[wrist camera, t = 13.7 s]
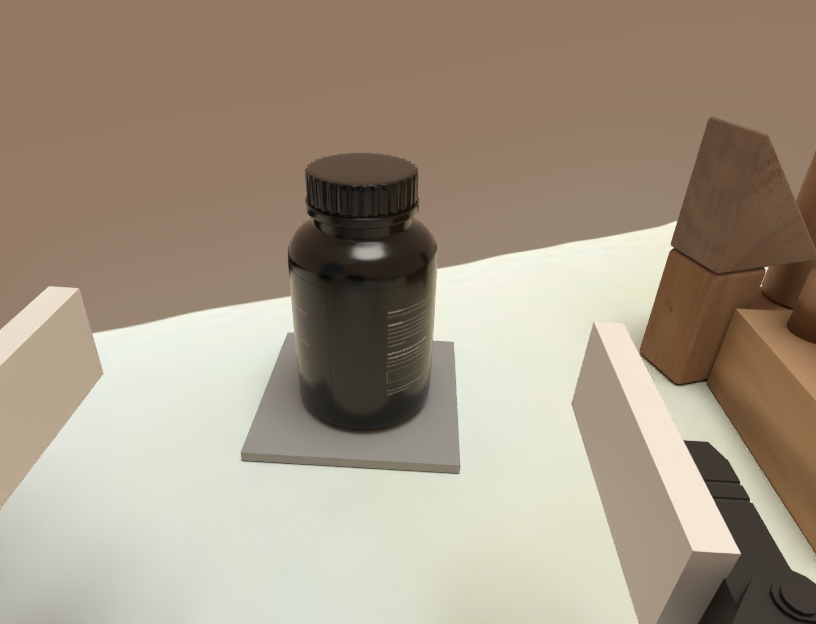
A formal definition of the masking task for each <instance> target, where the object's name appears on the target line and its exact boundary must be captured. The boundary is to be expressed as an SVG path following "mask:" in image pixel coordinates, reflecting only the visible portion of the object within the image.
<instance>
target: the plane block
mask: <svg viewBox="0 0 816 624" xmlns="http://www.w3.org/2000/svg"><path fill="white" fill-rule="evenodd" d="M707 385H708V386H709V388H710V389H711V391H712V393H713V394H714V396H715V397H716V399H717V400H718V402H719V403H720V405H721V406H722V408H723V410H724V411H725V413H726V414H727V416H728V417H729V419H730V420H731V422H732V424H733V425H734V427H735V428H736V430H737V431H738V433H739V434H740V436H741V437H742V439H743V441H744V442H745V444H746V445H747V447H748V448H749V450H750V451H751V453H752V455H753V456H754V458H755V459H756V461H757V462H758V464H759V465H760V467H761V468H762V470H763V472H764V473H765V475H766V476H767V478H768V479H769V481H770V482H771V484H772V486H773V487H774V489H775V490H776V492H777V493H778V495H779V496H780V498H781V499H782V501H783V503H784V504H785V506H786V507H787V509H788V510H789V512H790V513H791V515H792V517H793V518H794V520H795V521H796V523H797V524H798V526H799V527H800V529H801V530H802V532H803V534H804V535H805V537H806V538H807V540H808V541H809V543H810V544H811V546H812V548H813V549H814V551H815V552H816V268H815V269H812V270H811V271H810V274H809V276H808V278H807V280H806V282H805V285H804V287H803V289H802V291H801V294H800V296H799V298H798V300H797V302H796V305H795V307H794V309H793V311H792V312H790V311H772V310H754V309H735V311H734V314H733V317H732V319H731V322H730V324H729V327H728V329H727V332H726V335H725V337H724V340H723V342H722V345H721V347H720V350H719V353H718V355H717V358H716V360H715V363H714V365H713V368H712V370H711V373H710V376H709V378H708V381H707Z"/></svg>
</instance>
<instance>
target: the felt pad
mask: <svg viewBox="0 0 816 624" xmlns="http://www.w3.org/2000/svg"><path fill="white" fill-rule="evenodd" d="M241 457H242V460H243V461H260V462H277V463H294V464H311V465H327V466H344V467H361V468H378V469H395V470H412V471H429V472H445V473H459V470H460V454H459V435H458V416H457V397H456V378H455V358H454V342H444V341H433V348H432V366H431V379H430V388H429V393H428V396H427V398H426V400H425V402H424V403H423V405H422V406H421V407H420V408H419V409H418V411H416V412H415V413H414V414H413V415H412V416H410V417H409V418H407V419H406V420H404V421H402V422H400V423H397V424H395V425H392V426H389V427H385V428H381V429H374V430H352V429H346V428H341V427H338V426H335V425H332V424H330V423H327V422H325V421H323V420H322V419H320V418H319V417H317V416H316V415H315V414H314V413H312V412H311V411H310V409H309V408H308V407H307V406H306V404H305V403H304V401H303V399H302V396H301V392H300V386H299V377H298V368H297V357H296V345H295V334H294V333H287V336H286V339H285V341H284V344H283V346H282V349H281V351H280V354H279V356H278V359H277V362H276V364H275V367H274V369H273V372H272V374H271V377H270V379H269V382H268V385H267V387H266V390H265V392H264V395H263V397H262V400H261V402H260V405H259V407H258V410H257V413H256V415H255V418H254V420H253V423H252V425H251V428H250V430H249V433H248V436H247V438H246V441H245V443H244V446H243V448H242V451H241Z"/></svg>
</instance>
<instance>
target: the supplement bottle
mask: <svg viewBox="0 0 816 624" xmlns="http://www.w3.org/2000/svg"><path fill="white" fill-rule="evenodd" d="M305 180H306V193H307V196H306V199H305V205H306V211H307V213H308V214H309V216H310V217H311V218H309V219H308V220H306V221H305V222H304V223H303V224H301V225H300V226H299V227H298V228H297V230H296V231H295V233H294V234H293V236H292V238H291V240H290V244H289V246H288V267H289V278H290V288H291V300H292V312H293V323H294V334H295V345H296V357H297V368H298V377H299V386H300V392H301V396H302V399H303V401H304V403H305V404H306V406H307V407H308V408H309V409H310V411H311V412H312V413H314V414H315V415H316V416H317V417H319V418H320V419H322V420H323V421H325V422H327V423H330V424H332V425H335V426H338V427H341V428H346V429H352V430H374V429H381V428H385V427H389V426H392V425H395V424H397V423H400V422H402V421H404V420H406V419H407V418H409V417H410V416H412V415H413V414H414V413H415V412H416V411H418V409H419V408H420V407H421V406H422V405H423V403H424V402H425V400H426V398H427V396H428V393H429V388H430V379H431V366H432V348H433V330H434V313H435V295H436V277H437V245H436V242H435V240H434V237H433V235H432V234H431V232H430V231H429V229H428V228H427V227H426V226H425V225H424V224H423V223H422V222H421V221H419V220H418V219H416V218H415V217H414V216H415V215H416V214H417V212H418V208H419V198H418V168H417V167H415V164H412V163H411V162H410V161H407V160H406V159H403V158H399V157H396V156H391V155H384V154H377V153H346V154H337V155H330V156H327V157H322V158H320V159H316V160H315V161H313V162H311V163H310V164H309V165H307V168H306V169H305Z"/></svg>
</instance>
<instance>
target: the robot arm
mask: <svg viewBox="0 0 816 624" xmlns="http://www.w3.org/2000/svg"><path fill="white" fill-rule="evenodd" d="M102 375H103V370H102V367H101V363H100V360H99V356H98V353H97V349H96V346H95V342H94V339H93V335H92V332H91V328H90V326H89V321H88V318H87V314H86V311H85V308H84V304H83V300H82V297H81V293H80V290H79V288H66V287H50V286H49V287H48V288H47V289H46V290H45V291H43V292H42V293H41V294H40V295H39V296H38V297H37V298H36V299H35V300H33V301H32V302H31V303H30V304H29V305H28V306H27V307H26V308H24V310H22V311H21V312H20V313H19V314H18V315H17V316H16V317H14V318H13V319H12V320H11V321H10V322H9V323H8V324H7V325H6V326H4V327H3V328H2V329H1V330H0V509H1V508H2V506H3V505H4V504H5V502H6V501H7V500H8V498H9V497H10V496H11V494H12V493H13V492H14V490H15V489H16V488H17V486H18V485H19V484H20V483H21V481H22V480H23V479H24V477H25V476H26V475H27V473H28V472H29V471H30V469H31V468H32V467H33V465H34V464H35V463H36V462H37V460H38V459H39V458H40V456H41V455H42V454H43V452H44V451H45V450H46V448H47V447H48V446H49V444H50V443H51V442H52V441H53V439H54V438H55V437H56V435H57V434H58V433H59V431H60V430H61V429H62V427H63V426H64V425H65V423H66V422H67V421H68V419H69V418H70V417H71V416H72V414H73V413H74V412H75V410H76V409H77V408H78V406H79V405H80V404H81V402H82V401H83V400H84V398H85V397H86V396H87V395H88V393H89V392H90V391H91V389H92V388H93V387H94V385H95V384H96V383H97V381H98V380H99V379H100V377H101V376H102ZM572 407H573V410H574V414H575V417H576V420H577V423H578V427H579V430H580V433H581V436H582V440H583V443H584V446H585V449H586V453H587V456H588V459H589V462H590V466H591V469H592V472H593V476H594V479H595V482H596V485H597V489H598V492H599V495H600V498H601V502H602V505H603V508H604V511H605V515H606V518H607V521H608V524H609V528H610V531H611V534H612V537H613V541H614V544H615V547H616V551H617V554H618V557H619V560H620V564H621V567H622V570H623V573H624V577H625V580H626V583H627V586H628V590H629V593H630V596H631V599H632V603H633V606H634V609H635V612H636V616H637V619H638V622H639V624H816V584H815V583H814V582H812V581H811V580H810V579H808V578H807V577H806V576H803V575H801V574H799V573H797V572H794V571H792V570H791V568H790V567H789V566H788V564H787V562H786V560H785V559H784V557H783V555H782V553H781V552H780V550H779V548H778V547H777V545H776V543H775V541H774V540H773V538H772V536H771V534H770V533H769V531H768V529H767V527H766V526H765V524H764V522H763V520H762V519H761V517H760V515H759V514H758V512H757V510H756V508H755V507H754V505H753V503H750V498H749V496H748V494H747V493H746V491H745V489H744V487H743V486H740V481H739V479H738V477H737V475H736V474H735V472H734V470H733V468H732V467H731V465H730V463H729V461H728V460H727V459H726V458H725V457H724V456H722V455H721V454H720V453H719V452H718V451H717V450H716V449H715V448H714V447H713V446H712V445H711V444H710V443H709V442H700V441H685V440H683V439H682V437H681V435H680V433H679V431H678V429H677V427H676V425H675V423H674V421H673V419H672V417H671V415H670V414H669V412H668V410H667V408H666V406H665V404H664V402H663V400H662V398H661V396H660V394H659V392H658V390H657V388H656V386H655V384H654V382H653V380H652V378H651V376H650V374H649V372H648V370H647V368H646V366H645V364H644V362H643V360H642V359H641V357H640V355H639V353H638V351H637V349H636V347H635V345H634V343H633V341H632V339H631V337H630V335H629V333H628V331H627V329H626V327H625V325H624V324H622V323H607V322H594V323H593V326H592V330H591V334H590V337H589V341H588V345H587V348H586V352H585V356H584V360H583V363H582V367H581V371H580V374H579V378H578V382H577V385H576V389H575V393H574V396H573V400H572Z"/></svg>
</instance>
